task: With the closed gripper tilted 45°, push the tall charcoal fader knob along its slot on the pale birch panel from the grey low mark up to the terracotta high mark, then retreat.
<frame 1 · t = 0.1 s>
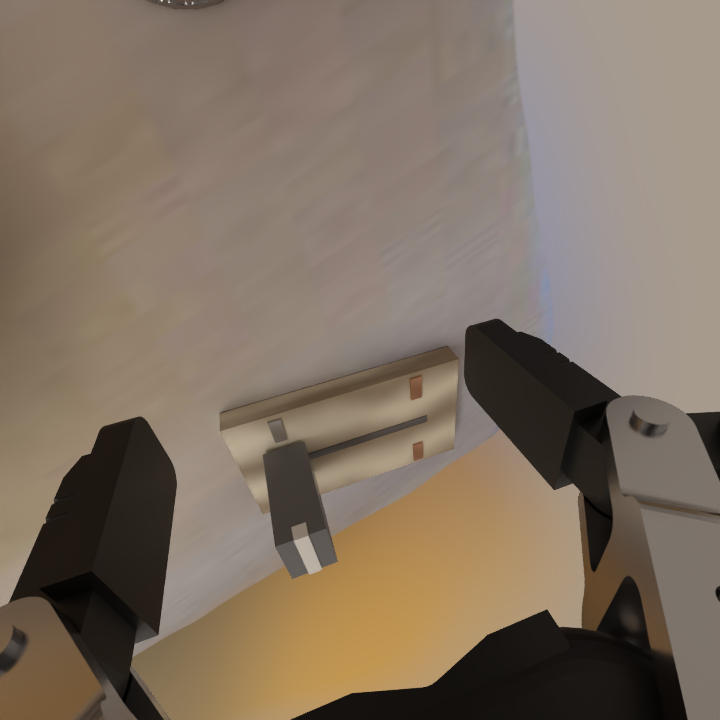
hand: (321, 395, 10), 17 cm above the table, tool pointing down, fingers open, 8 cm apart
fader panel: (348, 425, 36), on the table
fader knob: (298, 506, 30), point 6 cm above the table, slide at 0.0 cm
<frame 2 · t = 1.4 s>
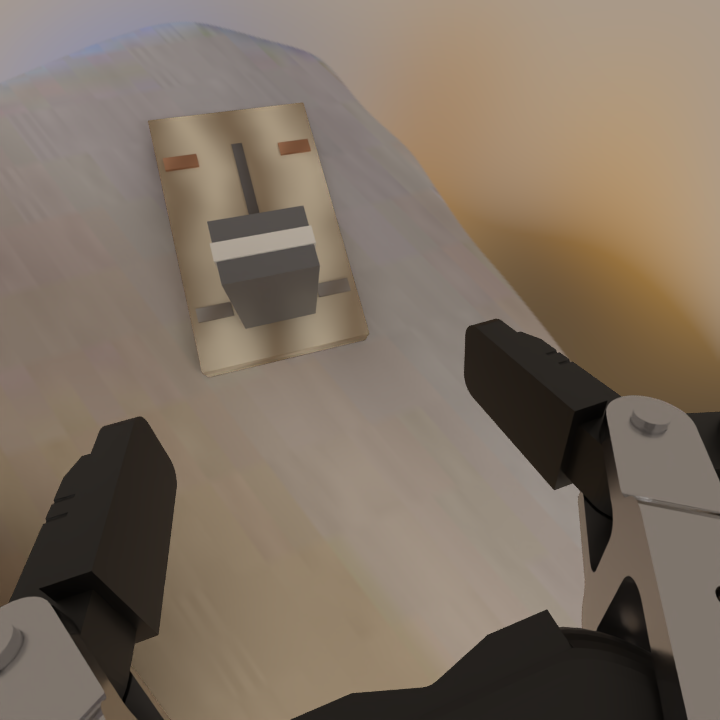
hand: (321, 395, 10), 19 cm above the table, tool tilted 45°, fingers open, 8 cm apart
fader panel: (260, 238, 31), on the table
fader knob: (270, 275, 24), point 6 cm above the table, slide at 0.0 cm
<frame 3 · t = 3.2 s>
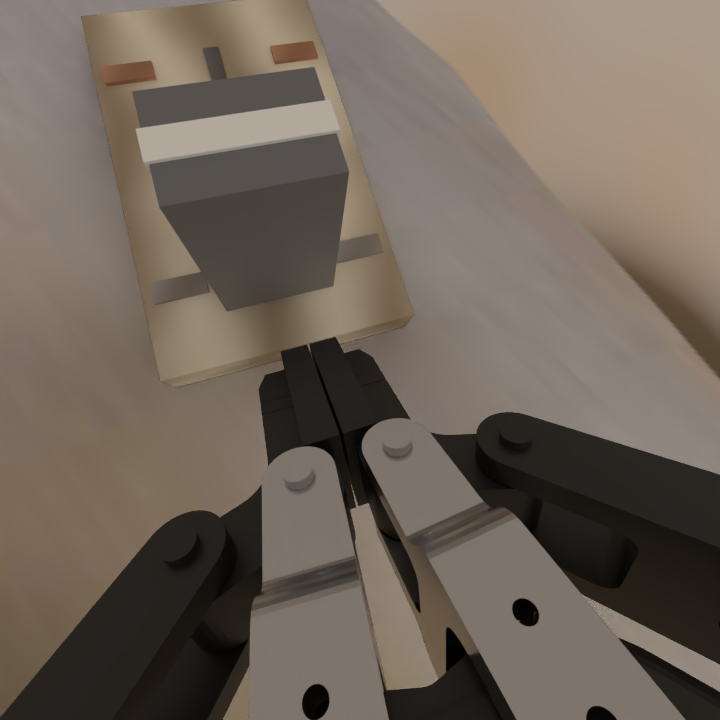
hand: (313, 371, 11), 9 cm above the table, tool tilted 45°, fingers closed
fader panel: (248, 186, 21), on the table
fader knob: (260, 215, 14), point 6 cm above the table, slide at 0.0 cm
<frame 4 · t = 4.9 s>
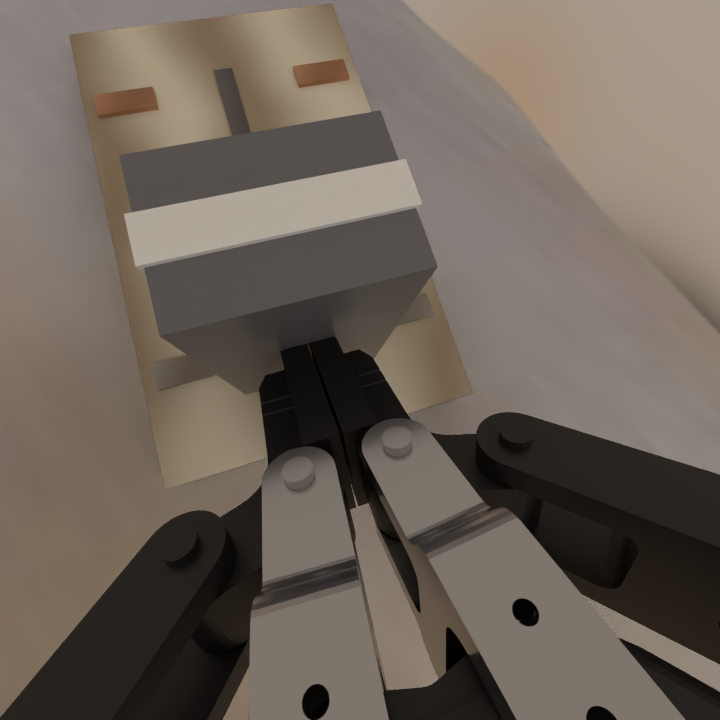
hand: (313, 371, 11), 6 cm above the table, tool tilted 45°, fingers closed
fader panel: (268, 231, 18), on the table
fader knob: (293, 293, 11), point 6 cm above the table, slide at 0.2 cm, touching gripper
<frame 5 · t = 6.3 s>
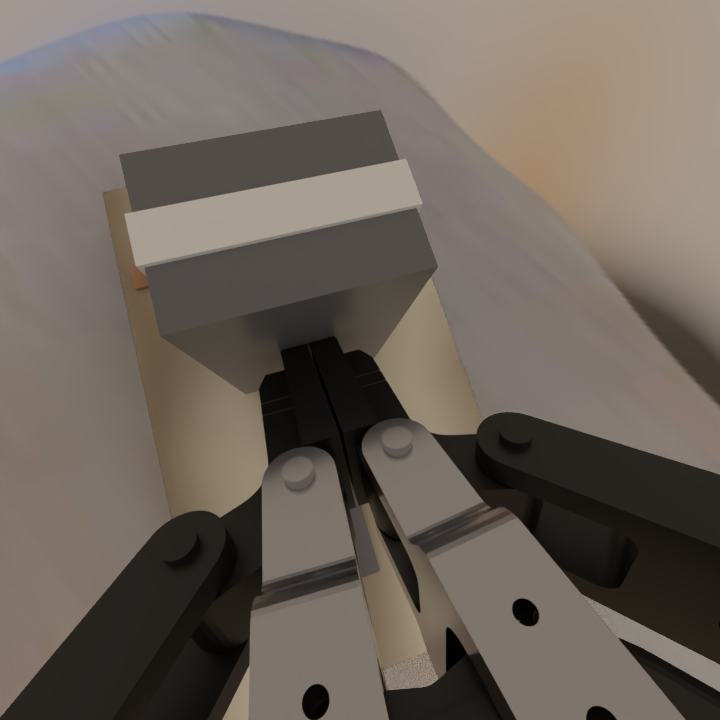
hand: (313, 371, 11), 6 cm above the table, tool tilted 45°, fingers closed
fader panel: (314, 393, 17), on the table
fader knob: (293, 293, 11), point 6 cm above the table, slide at 8.1 cm, touching gripper
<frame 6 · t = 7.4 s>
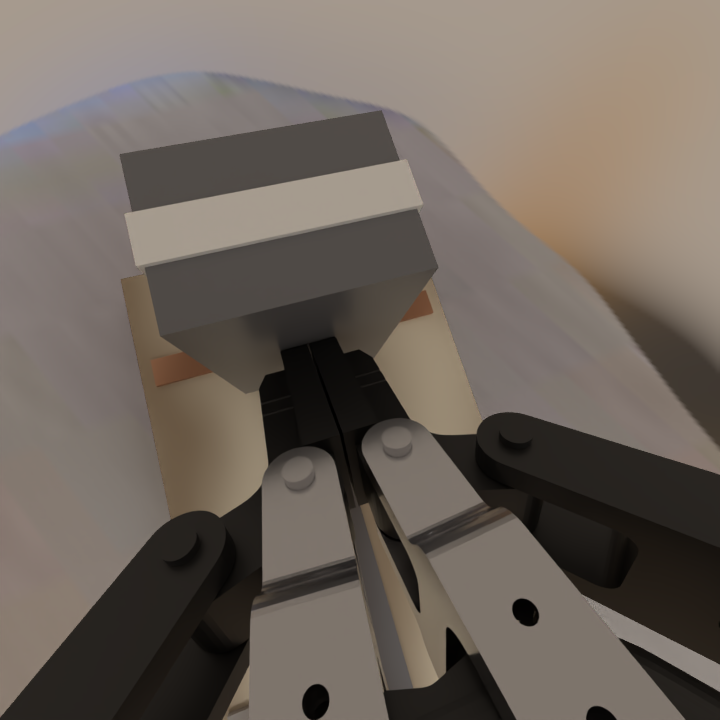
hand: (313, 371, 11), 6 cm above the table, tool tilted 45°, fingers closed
fader panel: (340, 482, 16), on the table
fader knob: (293, 292, 11), point 6 cm above the table, slide at 12.1 cm, touching gripper
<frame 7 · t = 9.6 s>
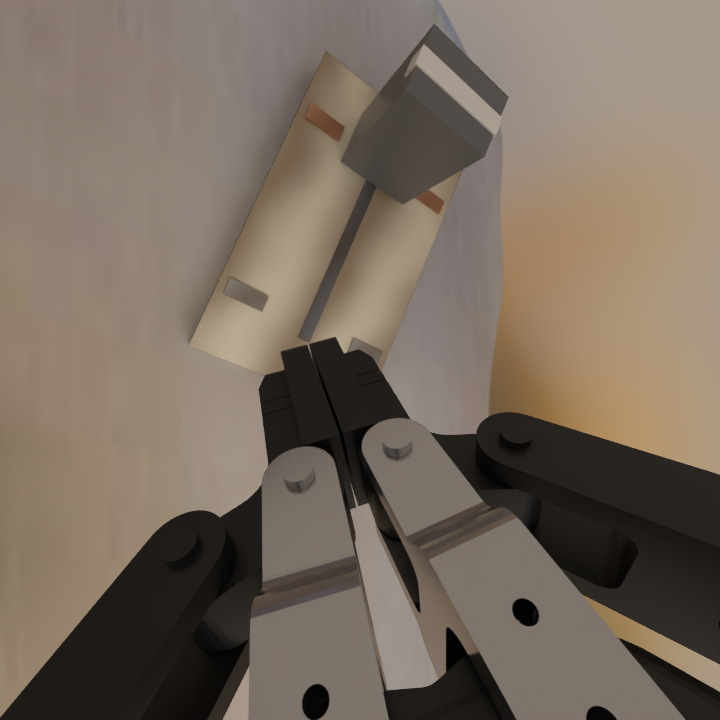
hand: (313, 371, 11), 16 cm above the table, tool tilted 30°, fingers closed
fader panel: (334, 248, 27), on the table
fader knob: (415, 132, 22), point 6 cm above the table, slide at 12.0 cm
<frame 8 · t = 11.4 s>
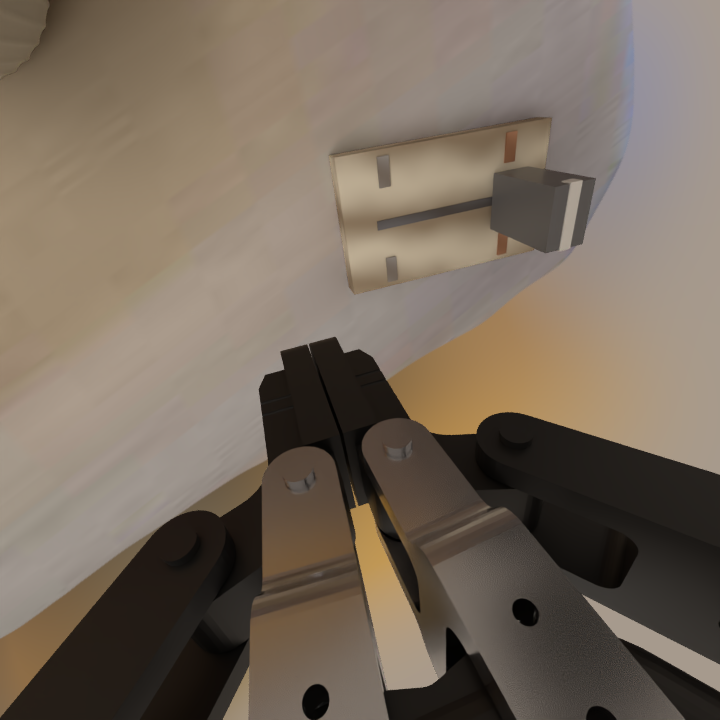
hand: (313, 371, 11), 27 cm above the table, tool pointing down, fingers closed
fader panel: (438, 206, 37), on the table
fader knob: (536, 207, 33), point 6 cm above the table, slide at 12.0 cm
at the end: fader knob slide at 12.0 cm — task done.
